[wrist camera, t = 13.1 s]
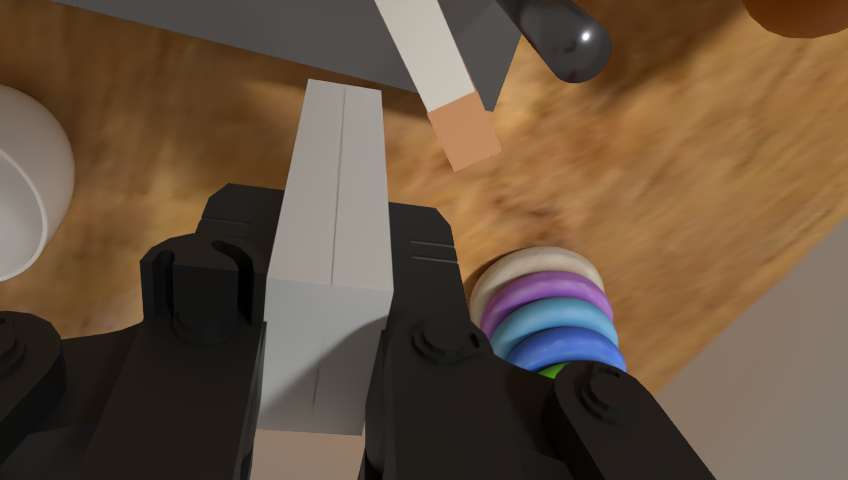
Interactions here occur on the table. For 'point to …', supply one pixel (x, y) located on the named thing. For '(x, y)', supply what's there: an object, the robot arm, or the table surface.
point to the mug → (800, 16)
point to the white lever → (441, 80)
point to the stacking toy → (545, 311)
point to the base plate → (383, 34)
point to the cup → (30, 179)
